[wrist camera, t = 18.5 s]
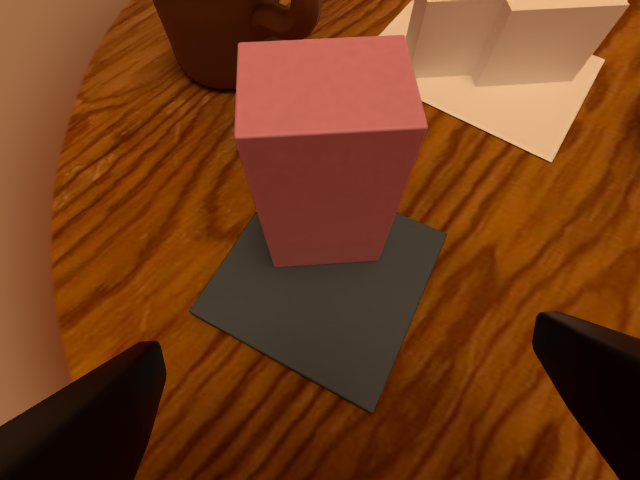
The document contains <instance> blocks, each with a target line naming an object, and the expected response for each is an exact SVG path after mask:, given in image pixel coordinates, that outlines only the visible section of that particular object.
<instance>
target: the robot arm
mask: <svg viewBox="0 0 640 480" xmlns="http://www.w3.org/2000/svg"><path fill="white" fill-rule="evenodd" d="M532 345H533V349H534V352H535V354H536V355H537V357H538V359H539V361H540V362H541V364H542V366H543V367H544V369H545V371H546V372H547V374H548V376H549V377H550V379H551V381H552V382H553V384H554V386H555V388H556V389H557V391H558V393H559V394H560V396H561V398H562V399H563V401H564V402H565V404H566V406H567V407H568V409H569V410H570V412H571V413H572V415H573V416H574V417H575V419H576V420H577V422H578V423H579V424H580V426H581V427H582V429H583V430H584V431H585V433H586V434H587V435H588V437H589V438H590V440H591V441H592V442H593V444H594V445H595V446H596V448H597V449H598V451H599V452H600V453H601V455H602V456H603V457H604V459H605V460H606V462H607V463H608V464H609V466H610V467H611V468H612V470H613V471H614V473H615V474H616V475H617V477H618V478H619V479H620V480H640V339H639V338H636V337H633V336H630V335H627V334H624V333H621V332H618V331H615V330H612V329H609V328H606V327H603V326H600V325H597V324H594V323H591V322H588V321H585V320H582V319H579V318H576V317H573V316H570V315H567V314H564V313H561V312H558V311H550V312H541V313H539V314H538V315H537V317H536V322H535V328H534V334H533V340H532ZM165 381H166V367H165V363H164V359H163V354H162V350H161V346H160V344H159V342H157V341H144V342H139V343H137V344H135V345H133V346H132V347H130V348H129V349H127V350H125V351H124V352H122V353H120V354H119V355H117V356H115V357H114V358H112V359H110V360H109V361H107V362H106V363H104V364H102V365H101V366H99V367H97V368H96V369H94V370H92V371H91V372H89V373H87V374H86V375H84V376H82V377H81V378H79V379H78V380H76V381H74V382H73V383H71V384H69V385H68V386H66V387H64V388H63V389H61V390H60V391H58V392H56V393H55V394H53V395H51V396H50V397H48V398H46V399H45V400H43V401H41V402H40V403H38V404H37V405H35V406H33V407H31V408H30V409H28V410H27V411H25V412H24V413H22V414H20V415H18V416H17V417H15V418H13V419H12V420H10V421H8V422H7V423H5V424H4V425H2V426H0V480H134V478H135V475H136V473H137V470H138V468H139V465H140V463H141V460H142V458H143V455H144V453H145V450H146V447H147V445H148V442H149V438H150V435H151V432H152V428H153V424H154V421H155V417H156V414H157V410H158V406H159V403H160V399H161V396H162V392H163V388H164V385H165Z"/></svg>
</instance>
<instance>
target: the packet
mask: <svg viewBox="0 0 640 480" xmlns="http://www.w3.org/2000/svg"><path fill="white" fill-rule="evenodd" d="M427 129H428V125H427V121H426V117H425V113H424V109H423V105H422V101H421V97H420V93H419V89H418V85H417V81H416V78H415V74H414V70H413V66H412V62H411V58H410V54H409V50H408V46H407V42H406V38H405V35H390V36H368V37H347V38H326V39H304V40H283V41H262V42H241V43H238V53H237V79H236V104H235V129H234V139H235V142H236V145H237V148H238V152H239V155H240V158H241V161H242V165H243V168H244V171H245V174H246V178H247V181H248V184H249V187H250V190H251V194H252V197H253V200H254V203H255V207H256V210H257V213H258V216H259V219H260V223H261V226H262V229H263V232H264V236H265V239H266V242H267V245H268V249H269V252H270V255H271V258H272V261H273V265H274V267H289V266H305V265H320V264H336V263H351V262H367V261H378V260H379V258H380V255H381V252H382V250H383V247H384V244H385V242H386V239H387V236H388V234H389V231H390V228H391V225H392V223H393V220H394V217H395V215H396V212H397V209H398V207H399V204H400V201H401V199H402V196H403V193H404V191H405V188H406V185H407V183H408V180H409V177H410V174H411V172H412V169H413V166H414V164H415V161H416V158H417V156H418V153H419V150H420V148H421V145H422V142H423V140H424V137H425V134H426V132H427Z"/></svg>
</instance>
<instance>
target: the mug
mask: <svg viewBox="0 0 640 480" xmlns="http://www.w3.org/2000/svg"><path fill="white" fill-rule="evenodd" d="M153 2H154V5H155V7H156V10H157V12H158V15H159V17H160V19H161V22H162V24H163V26H164V29H165V31H166V34H167V36H168V38H169V41H170V43H171V46H172V48H173V51H174V53H175V56H176V58H177V60H178V62H179V64H180V66H181V67H182V69H183V70H184V72H185V73H186V74H187V75H188V76H189V77H190V78H192V79H193V80H194V81H196V82H198V83H199V84H202V85H204V86H207V87H210V88H215V89H236V79H237V53H238V43H241V42H262V41H282V40H301V39H304V38H305V37H307V36H308V35H310V33H311V32H312V31H313V29H314V28H315V27H316V25H317V23H318V20H319V18H320V14H321V7H322V0H291V7H290V8H289V7H287V6H285V5H282V4H279V0H153Z"/></svg>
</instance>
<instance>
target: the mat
mask: <svg viewBox="0 0 640 480" xmlns="http://www.w3.org/2000/svg"><path fill="white" fill-rule="evenodd" d="M446 236H447V234H446V233H443V232H441V231H439V230H436V229H434V228H432V227H429V226H427V225H425V224H422V223H420V222H418V221H415V220H413V219H411V218H408V217H406V216H404V215H402V214H399V213H397V212H396V215H395V217H394V220H393V223H392V225H391V228H390V231H389V234H388V236H387V239H386V242H385V244H384V247H383V250H382V252H381V255H380V258H379V260H378V261H367V262H351V263H336V264H320V265H305V266H289V267H274V265H273V261H272V258H271V255H270V252H269V249H268V245H267V242H266V239H265V236H264V232H263V229H262V226H261V223H260V219H259V216H258V213H257V212H256V213H255V215H254V216H253V218H252V219H251V221H250V222H249V224H248V225H247V227H246V228H245V229H244V231H243V232H242V234H241V235H240V237H239V238H238V240H237V241H236V243H235V244H234V246H233V247H232V249H231V250H230V252H229V253H228V255H227V256H226V257H225V259H224V260H223V262H222V263H221V265H220V266H219V268H218V269H217V271H216V272H215V274H214V275H213V277H212V278H211V280H210V281H209V282H208V284H207V285H206V287H205V288H204V290H203V291H202V293H201V294H200V296H199V297H198V299H197V300H196V302H195V303H194V305H193V306H192V307H191V309H190V311H189V312H190V313H191V314H193V315H194V316H196V317H198V318H200V319H202V320H203V321H205V322H207V323H209V324H211V325H212V326H214V327H216V328H218V329H220V330H221V331H223V332H225V333H227V334H229V335H230V336H232V337H234V338H236V339H238V340H239V341H241V342H243V343H245V344H247V345H248V346H250V347H252V348H254V349H256V350H257V351H259V352H261V353H263V354H265V355H266V356H268V357H270V358H272V359H274V360H275V361H277V362H279V363H281V364H283V365H284V366H286V367H288V368H290V369H292V370H293V371H295V372H297V373H299V374H301V375H302V376H304V377H306V378H308V379H310V380H311V381H313V382H315V383H317V384H319V385H321V386H322V387H324V388H326V389H328V390H330V391H331V392H333V393H335V394H337V395H339V396H340V397H342V398H344V399H346V400H348V401H349V402H351V403H353V404H355V405H357V406H358V407H360V408H362V409H364V410H366V411H367V412H369V413H373V412H374V410H375V408H376V405H377V403H378V401H379V398H380V396H381V393H382V391H383V389H384V386H385V384H386V381H387V379H388V376H389V374H390V372H391V369H392V367H393V364H394V362H395V359H396V357H397V355H398V352H399V350H400V347H401V345H402V343H403V340H404V338H405V335H406V333H407V330H408V328H409V326H410V323H411V321H412V318H413V316H414V313H415V311H416V309H417V306H418V304H419V301H420V299H421V297H422V294H423V292H424V289H425V287H426V284H427V282H428V280H429V277H430V275H431V272H432V270H433V267H434V265H435V263H436V260H437V258H438V255H439V253H440V251H441V248H442V246H443V243H444V241H445V238H446Z"/></svg>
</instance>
